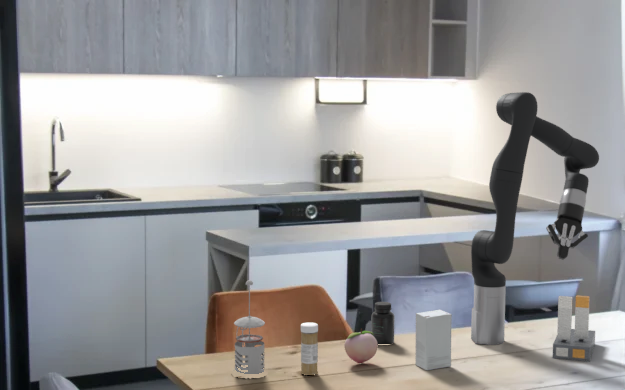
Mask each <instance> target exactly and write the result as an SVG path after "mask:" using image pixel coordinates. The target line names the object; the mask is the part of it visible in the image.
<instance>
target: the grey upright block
mask: <svg viewBox="0 0 625 390" xmlns="http://www.w3.org/2000/svg"><path fill="white" fill-rule="evenodd" d="M557 304H558V305H557V309H558V310H557V335H556V337H557V339H565V340H571V329H572V316H573V315H572V313H573V296H567V295H559V296H558V303H557Z"/></svg>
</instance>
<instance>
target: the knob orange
mask: <svg viewBox="0 0 625 390" xmlns="http://www.w3.org/2000/svg"><path fill="white" fill-rule="evenodd" d="M589 322H590V296H588V295H579V294H577V295H576V296H575V311H574V329H575V336H574V338H578V339H588V330H589V324H590V323H589Z"/></svg>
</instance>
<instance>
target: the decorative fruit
mask: <svg viewBox="0 0 625 390" xmlns="http://www.w3.org/2000/svg"><path fill="white" fill-rule="evenodd" d="M371 334H372V335H371ZM373 335H374V334H373V333H372V332H371V331H370V330H363V328H360V331H359V332H352V333H350V334H349V335H348V337H347V338H346V340H345V342H344V351H345V353H346V355H347V356H348V357H349V359H351V360H352V361H353V362H355V363H356V364H358V363H362V364H363V363H365V362H368V361H370V360H372V358H373V357H374V356H375V355H376V353H377V351H378V348H379V347H378V346H379V345H378V344H377V340H376V339H375V337H374V336H373Z"/></svg>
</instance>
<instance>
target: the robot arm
mask: <svg viewBox="0 0 625 390" xmlns="http://www.w3.org/2000/svg"><path fill="white" fill-rule="evenodd" d="M495 109H496V111H495V112H496V114H497V116H498V118H499V119H500V120H501V121H503V122H504V123H506V124H508V125H510V126H511V127H510V132H509V135H508V139H507V140H506V142H505V143H504V144H503V147H502V148H501V149H500V151H499V153H497V156H496V158H495V159H494V161H493V164H492V166H491V170H490V171H491V172H490V178H489V184H488V187H489V193H490V196H491V198H492V199H491V200H492V202H493V205H494V208H495V214H496V215H495V216H496V217H495V218H496V220H495V227H494V231H493V230H486V229H485V230H484V229H483V230H478V231H477V232H476V233H475V234H474V236H473V238H472V241H471V245H470V246H471V248H470V249H471V251H470V253H471V254H470V255H471V274H472V277H473V307H472V308H471V321H470V322H471V325H470V328H471V329H470V331H471V333H470V339H471V341H473V342H474V343H475V344H479V345H480V344H481V345H487V346H488V345H489V346H490V345H491V346H492V345H494V346H496V345H501V344H504V343H505V326H506V325H505V322H506V321H505V320H506V315H505V314H506V289H507V288H506V286H507V285H506V280H507V278H506V276H505V274H503V273H502V272H501V271H499V269H497V267H496V266H495V264H498V265H502V264H506V262H508V261H509V259H510V257H511V255H512V252H513V248H514V240H515V239H514V238H515V227H516V226H515V225H516V215H517V209H518V208H517V207H518V203H519V196H520V191H521V187H522V182H523V176H524V171H525V170H524V168H525V164H526V163H525V162H526V159H527V158H526V157H527V153H528V148H529V144H530V140H531V136H532V138H534V139H535V140H538V141H539V142H541V144H543V145H545V146H546V147H547V148H548V149H549V150H551V151H553V152H554V153H555V154H556V155H558V156H560V157H563V158H564V160H563V163H564V174H565V175H564V176H565V180H564V181H565V182H564V185H563V190H562V193H561V197H560V200H559V204H558V205H559V207H558V210H557V216H556V219H555V221H554V222H553V223H552V224H551V223H550V224H548V225H547V226H546V231H547V233H548V235H549V236H550V238H551V241H552V243H553V244H554V245H557V247H558V248H557V254H556V255H557V257H558V259H559V260H563V261H564V260H565V259H566V258H567V257H568V256H569V255H568V254H569V250H570V249H574V248H575V247H577V246H578V245H580V244H581V243H582V242H583V241H585V240H586V239H588V237H589V235H588V233H585V232H584V231H583V226H582V225H583V224H582V223H583V218H584V213H585V208H586V203H587V193H588V188H589V182H590V181H589V177H588V176H587V175H585V174H584V173H581V170H586V169H592V168H595V167H596V166H597V165H598V163H599V160H600V155H599V152H598V150H597V149H596V148H595V146H593V145H591V144H590V143H589V142H586V141H584V140H581V139H579V138H576V137H574V136H573V135H571V134H570V133H568V131H566V130H564V129H563V128H562V127H560V126H558V125H556V124H555V123H553V122H550V121H547V120H546V119H543V118H541V117H539V116H537V114H538V102H537V98H536V96H535V95H534V94H533V93H531V92H528V91H527V92H524V91H522V92H509V93H505V94H503V95H501V96H500V97H499V98H498V100H497V101H496V105H495ZM558 235H559V237H558ZM577 235H578V237H577V238H578V239H575V241H574V242H572V241H573V239H574V238H575V237H576V236H577Z"/></svg>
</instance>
